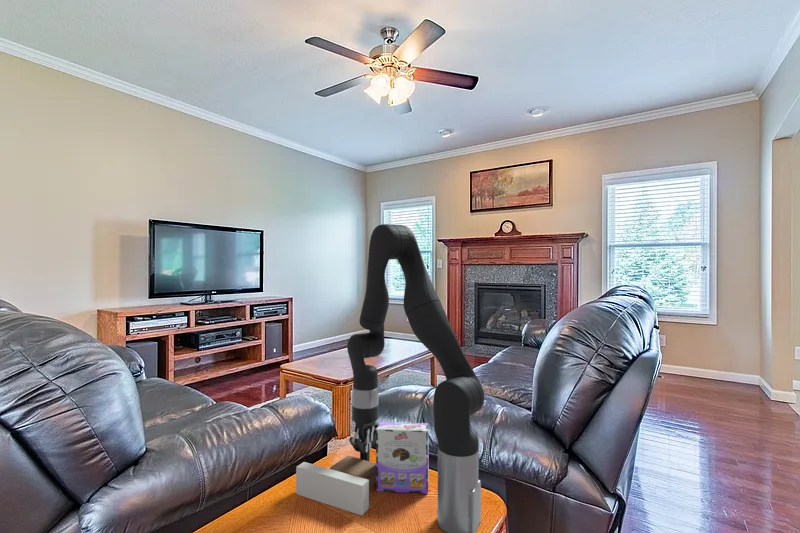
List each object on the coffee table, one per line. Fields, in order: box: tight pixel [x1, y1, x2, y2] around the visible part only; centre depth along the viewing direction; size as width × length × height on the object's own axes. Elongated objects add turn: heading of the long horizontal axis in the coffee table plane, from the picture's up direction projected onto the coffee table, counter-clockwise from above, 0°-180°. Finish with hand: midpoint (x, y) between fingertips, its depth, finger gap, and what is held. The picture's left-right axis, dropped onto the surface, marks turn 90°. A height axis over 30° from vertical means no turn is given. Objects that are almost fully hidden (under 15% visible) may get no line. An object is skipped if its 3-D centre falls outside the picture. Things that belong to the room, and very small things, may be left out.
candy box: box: [375, 421, 430, 494], centre depth 106 cm, size 14×6×16 cm, turn 84°
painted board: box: [295, 461, 370, 516], centre depth 100 cm, size 20×3×7 cm, turn 64°
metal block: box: [329, 455, 376, 488], centre depth 108 cm, size 10×8×5 cm
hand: (364, 463), depth 114 cm, fingers closed
